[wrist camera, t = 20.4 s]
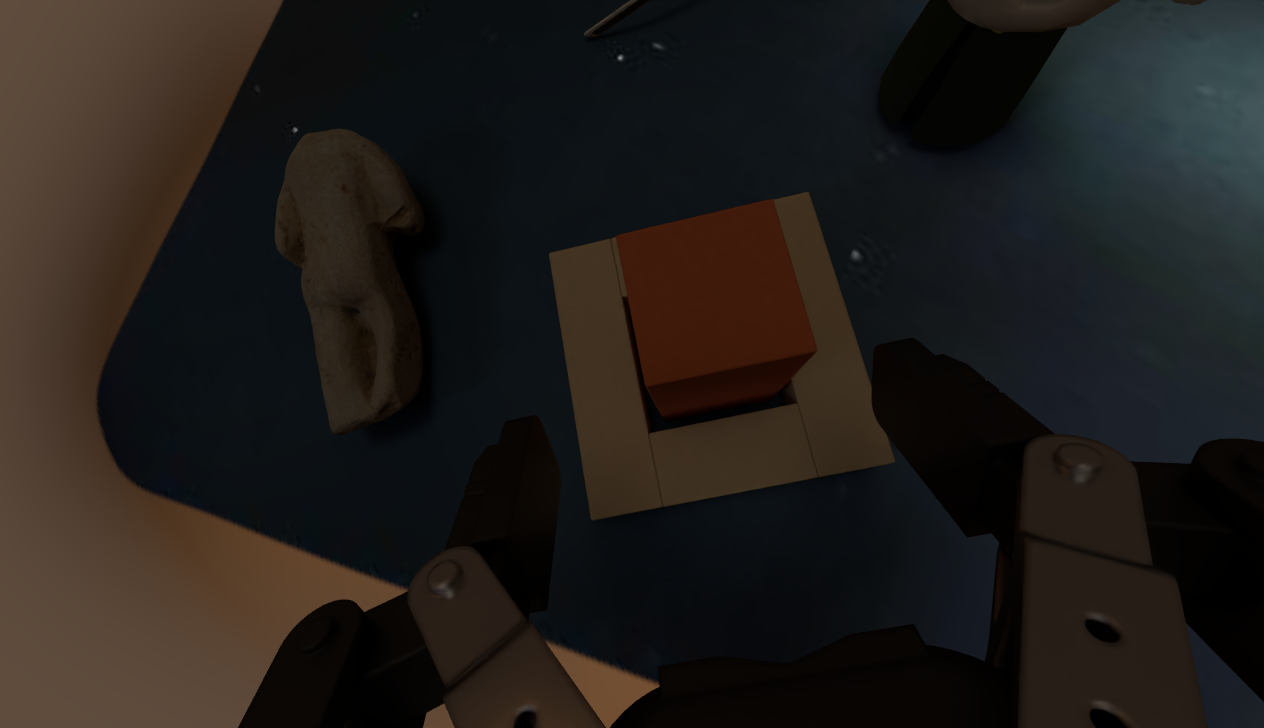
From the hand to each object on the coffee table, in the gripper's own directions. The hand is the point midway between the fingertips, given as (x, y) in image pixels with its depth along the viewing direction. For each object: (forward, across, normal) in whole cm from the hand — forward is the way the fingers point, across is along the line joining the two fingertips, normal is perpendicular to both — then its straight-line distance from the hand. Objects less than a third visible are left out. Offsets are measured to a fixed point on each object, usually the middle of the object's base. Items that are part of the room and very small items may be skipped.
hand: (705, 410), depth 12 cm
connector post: (+10, -1, +5) cm, 12 cm away
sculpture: (+16, +15, 0) cm, 21 cm away
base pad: (+10, -1, +5) cm, 12 cm away
